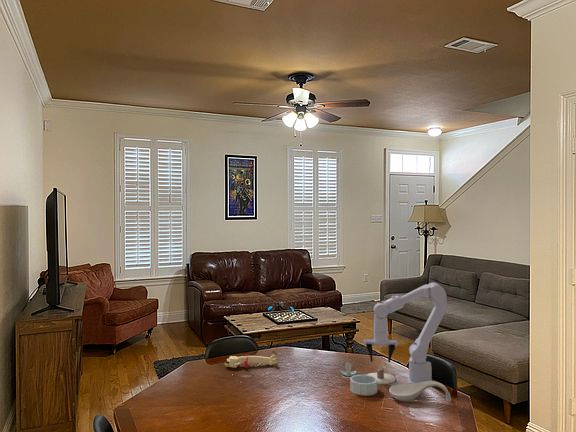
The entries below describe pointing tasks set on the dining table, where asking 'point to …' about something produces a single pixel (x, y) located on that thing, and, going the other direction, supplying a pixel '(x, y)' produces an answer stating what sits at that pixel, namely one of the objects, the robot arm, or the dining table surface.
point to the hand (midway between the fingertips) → (380, 361)
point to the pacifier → (348, 370)
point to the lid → (383, 377)
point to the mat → (387, 384)
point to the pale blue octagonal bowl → (363, 385)
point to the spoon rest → (414, 390)
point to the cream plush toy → (251, 360)
